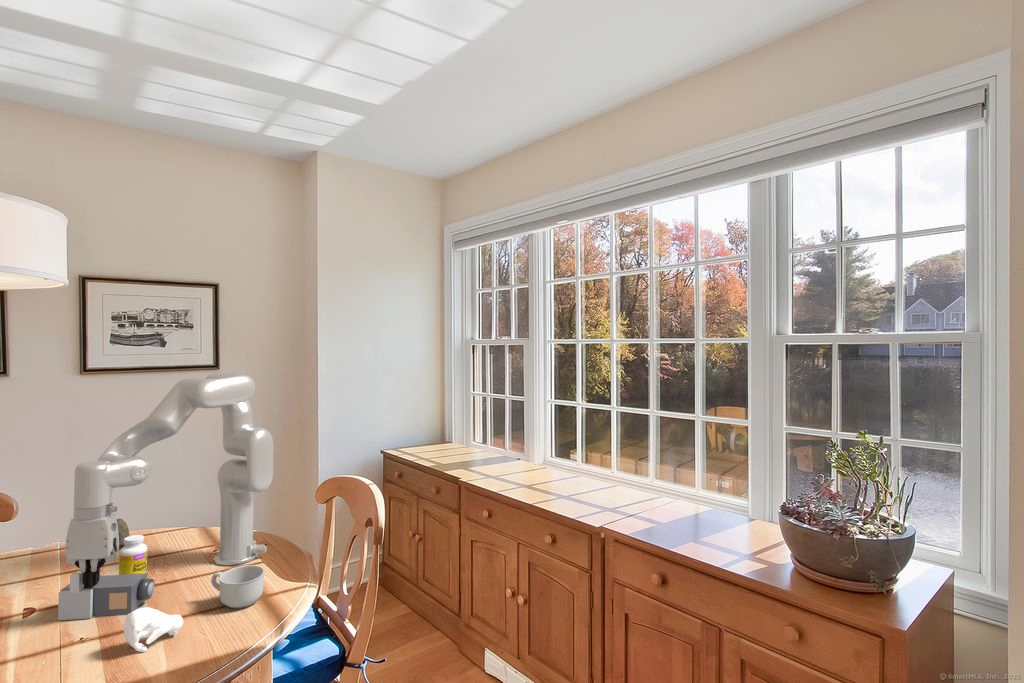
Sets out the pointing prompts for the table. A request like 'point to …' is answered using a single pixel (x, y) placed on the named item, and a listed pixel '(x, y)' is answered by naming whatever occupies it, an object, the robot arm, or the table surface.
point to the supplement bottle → (133, 556)
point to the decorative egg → (122, 532)
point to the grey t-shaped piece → (75, 600)
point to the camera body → (119, 593)
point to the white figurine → (149, 626)
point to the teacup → (240, 585)
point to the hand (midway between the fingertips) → (90, 586)
